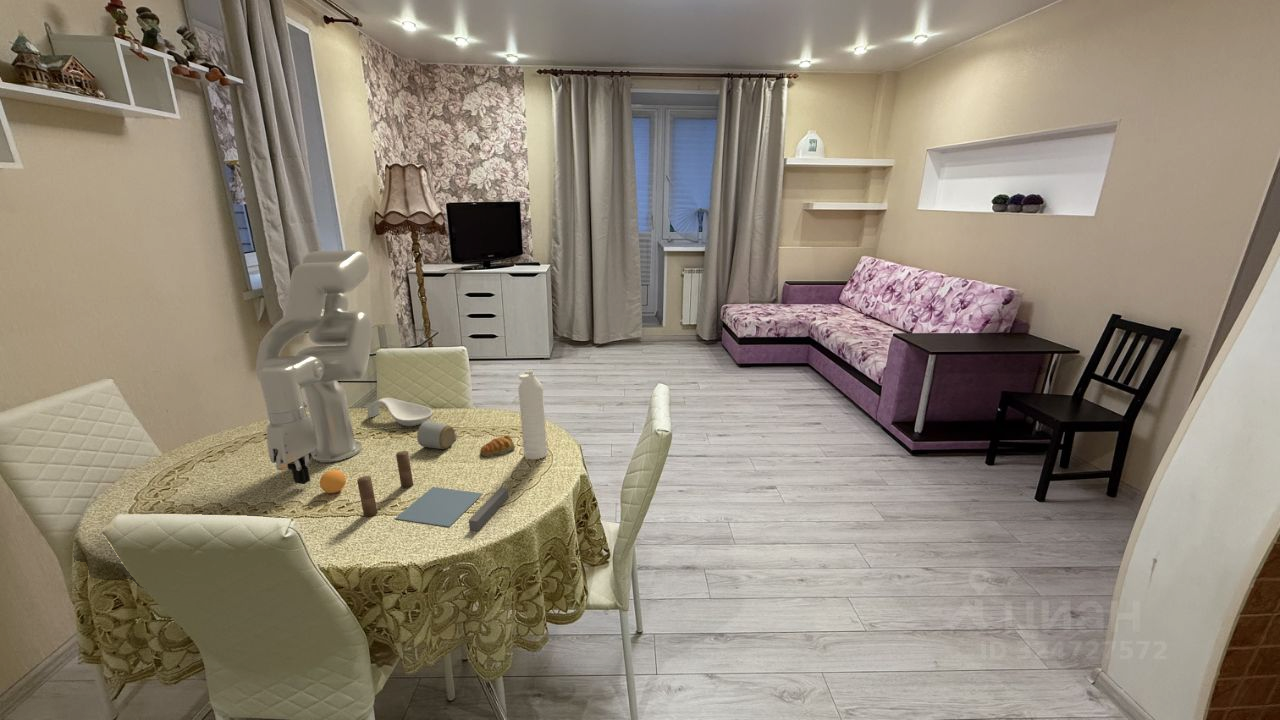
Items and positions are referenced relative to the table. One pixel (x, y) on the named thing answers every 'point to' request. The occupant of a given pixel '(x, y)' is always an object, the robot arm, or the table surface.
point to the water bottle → (532, 416)
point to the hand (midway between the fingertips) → (302, 481)
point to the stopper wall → (488, 509)
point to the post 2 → (404, 469)
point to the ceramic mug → (435, 435)
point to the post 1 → (367, 496)
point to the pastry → (498, 446)
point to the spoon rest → (402, 411)
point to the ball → (332, 481)
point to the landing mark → (439, 506)
